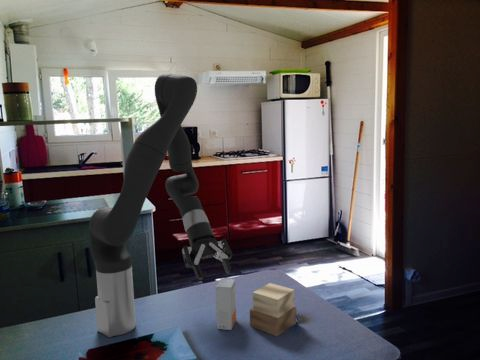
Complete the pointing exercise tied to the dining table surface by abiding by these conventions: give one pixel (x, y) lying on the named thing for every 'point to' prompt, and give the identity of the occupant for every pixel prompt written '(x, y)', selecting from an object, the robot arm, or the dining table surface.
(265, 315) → the walnut block
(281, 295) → the beech block
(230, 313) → the skincare box
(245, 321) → the dining table surface
